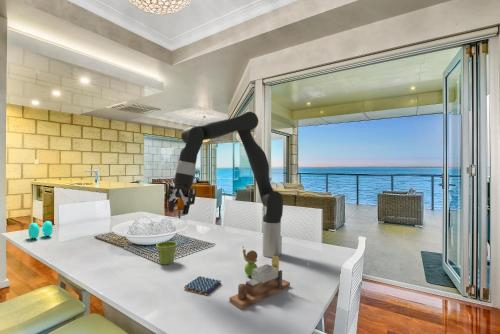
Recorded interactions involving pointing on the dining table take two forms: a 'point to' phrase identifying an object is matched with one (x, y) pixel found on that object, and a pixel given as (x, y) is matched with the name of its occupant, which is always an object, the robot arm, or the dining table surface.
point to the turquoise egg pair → (46, 229)
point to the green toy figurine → (250, 261)
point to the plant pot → (166, 252)
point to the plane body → (257, 291)
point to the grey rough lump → (264, 273)
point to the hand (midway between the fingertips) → (177, 212)
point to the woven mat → (202, 285)
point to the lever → (275, 261)
